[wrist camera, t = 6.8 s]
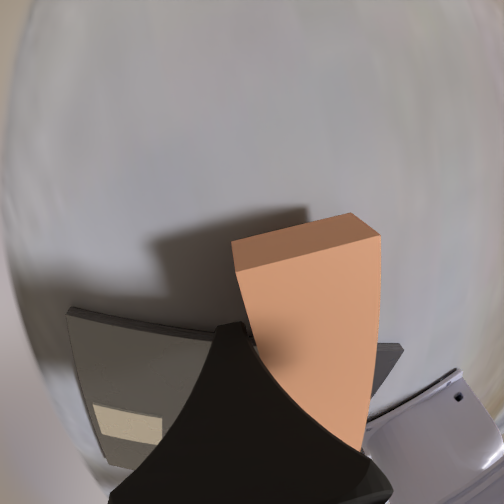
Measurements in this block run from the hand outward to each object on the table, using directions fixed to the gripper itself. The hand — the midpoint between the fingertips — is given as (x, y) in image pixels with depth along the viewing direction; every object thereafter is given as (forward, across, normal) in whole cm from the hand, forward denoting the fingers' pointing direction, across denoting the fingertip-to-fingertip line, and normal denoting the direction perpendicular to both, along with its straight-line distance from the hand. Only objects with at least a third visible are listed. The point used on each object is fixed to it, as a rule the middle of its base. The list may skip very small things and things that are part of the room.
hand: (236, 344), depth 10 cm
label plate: (+2, +3, +9) cm, 10 cm away
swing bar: (+1, -3, +5) cm, 6 cm away
